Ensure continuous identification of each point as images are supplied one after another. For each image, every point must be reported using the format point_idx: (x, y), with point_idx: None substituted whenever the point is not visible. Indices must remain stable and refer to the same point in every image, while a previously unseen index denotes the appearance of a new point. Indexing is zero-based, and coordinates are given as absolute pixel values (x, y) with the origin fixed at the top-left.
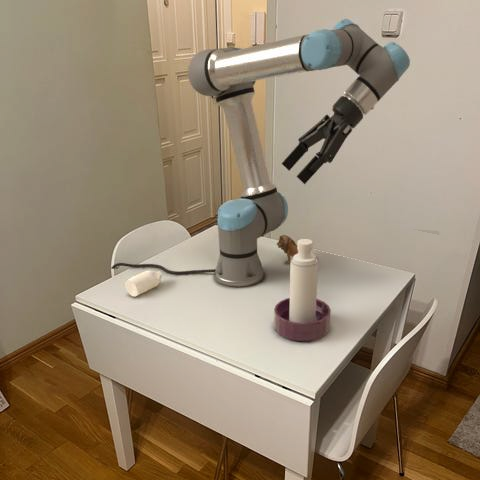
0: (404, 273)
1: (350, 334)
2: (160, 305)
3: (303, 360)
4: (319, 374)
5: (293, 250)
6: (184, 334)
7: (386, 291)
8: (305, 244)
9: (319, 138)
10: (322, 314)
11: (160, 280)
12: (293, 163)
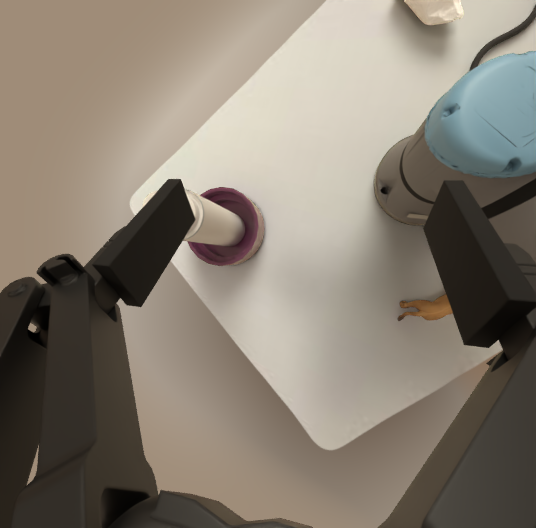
0: (332, 447)
1: (200, 281)
2: (355, 38)
3: None
4: None
5: None
6: (261, 76)
7: (285, 384)
8: (143, 202)
9: (416, 488)
10: (225, 257)
11: (428, 24)
12: (436, 249)
